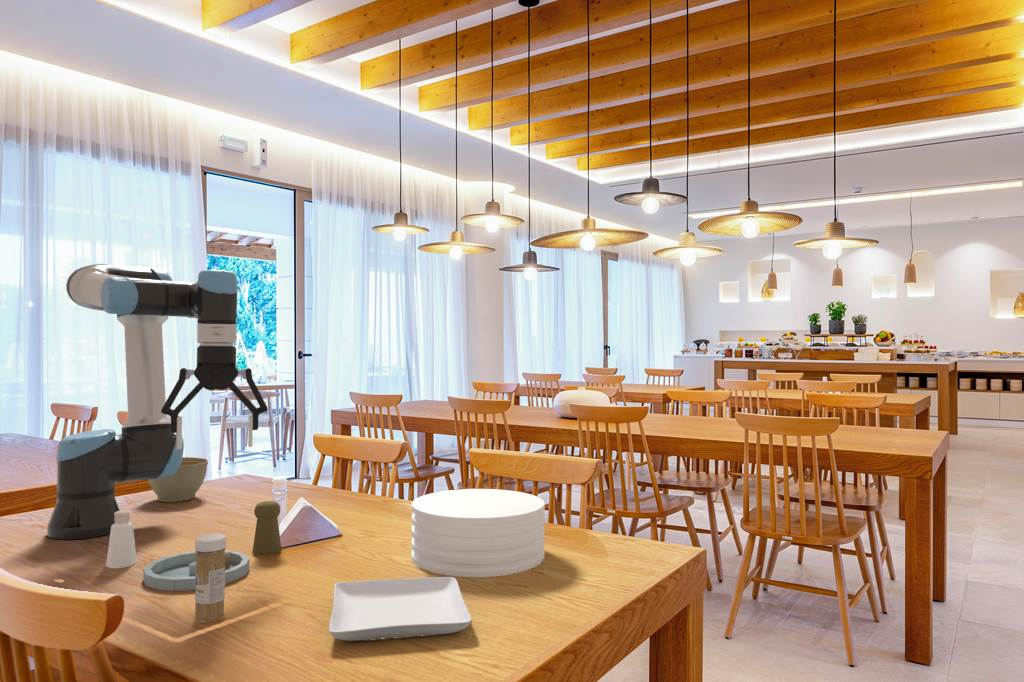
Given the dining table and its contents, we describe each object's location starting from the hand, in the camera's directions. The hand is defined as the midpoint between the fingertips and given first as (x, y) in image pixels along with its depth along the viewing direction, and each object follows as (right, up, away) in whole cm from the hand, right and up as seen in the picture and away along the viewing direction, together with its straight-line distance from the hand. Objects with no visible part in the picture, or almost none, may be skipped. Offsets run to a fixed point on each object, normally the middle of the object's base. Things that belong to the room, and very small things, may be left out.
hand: (215, 447), depth 146 cm
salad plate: (+43, -23, -32) cm, 59 cm away
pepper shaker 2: (+10, -23, +3) cm, 25 cm away
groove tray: (+2, -23, -13) cm, 26 cm away
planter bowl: (-34, -24, +55) cm, 69 cm away
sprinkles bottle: (+13, -23, -34) cm, 43 cm away
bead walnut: (+6, -22, -14) cm, 27 cm away
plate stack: (+55, -24, +3) cm, 60 cm away
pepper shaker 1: (-16, -23, -7) cm, 29 cm away
